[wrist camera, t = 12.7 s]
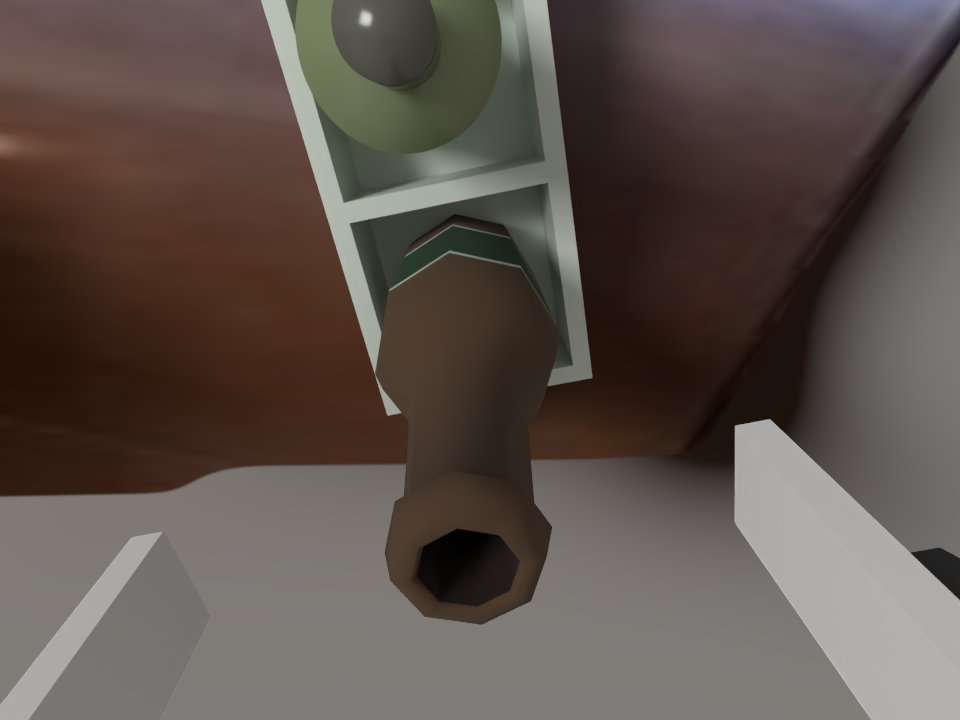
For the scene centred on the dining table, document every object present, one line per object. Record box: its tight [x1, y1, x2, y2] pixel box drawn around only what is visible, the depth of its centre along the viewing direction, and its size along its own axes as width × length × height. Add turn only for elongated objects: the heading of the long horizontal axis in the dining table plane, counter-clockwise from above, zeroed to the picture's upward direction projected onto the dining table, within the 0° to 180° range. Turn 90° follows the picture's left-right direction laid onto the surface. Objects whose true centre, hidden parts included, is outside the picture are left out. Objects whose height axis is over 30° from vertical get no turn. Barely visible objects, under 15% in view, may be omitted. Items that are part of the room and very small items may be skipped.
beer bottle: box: [375, 214, 560, 624], centre depth 22 cm, size 8×8×24 cm
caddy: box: [261, 0, 592, 416], centre depth 29 cm, size 12×23×6 cm, turn 11°
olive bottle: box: [295, 0, 502, 154], centre depth 21 cm, size 6×6×17 cm
